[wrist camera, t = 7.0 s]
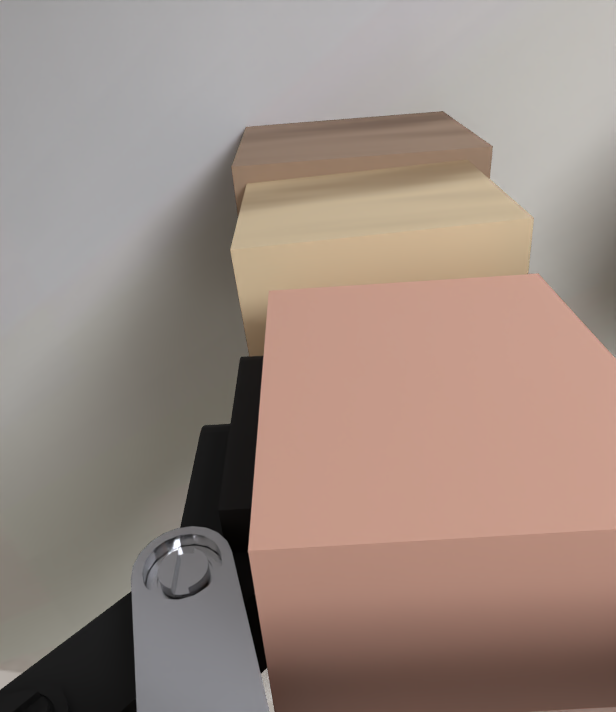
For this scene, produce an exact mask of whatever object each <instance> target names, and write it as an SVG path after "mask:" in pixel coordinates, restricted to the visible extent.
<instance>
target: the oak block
mask: <svg viewBox="0 0 616 712" xmlns="http://www.w3.org/2000/svg"><path fill="white" fill-rule="evenodd" d="M533 221H534V218H533V217H532V216H531V215H530V214H529V213H528V212H526V211H525V210H524V209H523V208H522V207H521V206H520V205H519V204H517V203H516V202H515V201H514V200H513V199H512V198H511V197H509V196H508V195H507V194H506V193H505V192H504V191H503V190H501V189H500V188H499V187H498V186H497V185H496V184H495V183H494V182H492V181H491V180H490V179H489V178H488V177H487V176H486V175H484V174H483V173H482V172H481V171H480V170H479V169H478V168H476V167H475V166H474V165H473V164H472V163H471V162H470V161H469V160H460V161H450V162H441V163H432V164H423V165H414V166H404V167H395V168H386V169H377V170H368V171H358V172H349V173H340V174H331V175H322V176H312V177H303V178H294V179H285V180H276V181H267V182H257V183H248V184H246V188H245V192H244V196H243V200H242V204H241V208H240V212H239V216H238V220H237V224H236V229H235V233H234V237H233V241H232V245H231V249H230V252H231V257H232V263H233V268H234V274H235V280H236V285H237V291H238V296H239V302H240V307H241V313H242V318H243V324H244V330H245V335H246V341H247V346H248V352H249V356H264V344H265V332H266V319H267V307H268V294H269V291H272V290H288V289H304V288H319V287H335V286H351V285H367V284H382V283H398V282H414V281H429V280H445V279H461V278H477V277H492V276H508V275H524V274H528V269H529V259H530V250H531V240H532V230H533Z"/></svg>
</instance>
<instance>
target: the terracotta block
mask: <svg viewBox="0 0 616 712" xmlns="http://www.w3.org/2000/svg"><path fill="white" fill-rule="evenodd" d="M248 554H249V560H250V566H251V572H252V578H253V584H254V590H255V596H256V602H257V608H258V614H259V620H260V626H261V632H262V638H263V644H264V650H265V656H266V663H267V669H268V675H269V681H270V687H271V693H272V699H273V705H274V711H275V712H534V711H552V710H569V709H587V708H605V707H616V359H615V357H614V356H613V355H612V354H611V353H610V352H609V351H608V350H607V349H606V348H605V346H604V345H603V344H602V343H601V342H600V341H599V340H598V339H597V338H596V337H595V335H594V334H593V333H592V332H591V331H590V330H589V329H588V328H587V327H586V326H585V324H584V323H583V322H582V321H581V320H580V319H579V318H578V317H577V316H576V315H575V313H574V312H573V311H572V310H571V309H570V308H569V307H568V306H567V305H566V304H565V302H564V301H563V300H562V299H561V298H560V297H559V296H558V295H557V294H556V293H555V291H554V290H553V289H552V288H551V287H550V286H549V285H548V284H547V283H546V282H545V280H544V279H543V278H542V277H541V276H540V275H539V274H524V275H508V276H492V277H477V278H461V279H445V280H429V281H414V282H398V283H382V284H367V285H351V286H335V287H319V288H304V289H288V290H272V291H269V294H268V307H267V319H266V332H265V344H264V357H263V369H262V382H261V394H260V407H259V420H258V432H257V445H256V457H255V470H254V482H253V495H252V507H251V520H250V533H249V545H248Z"/></svg>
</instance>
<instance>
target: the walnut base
mask: <svg viewBox="0 0 616 712" xmlns="http://www.w3.org/2000/svg"><path fill="white" fill-rule="evenodd" d="M492 148H493V146H491V145H490V144H488V143H487V142H486V141H484V140H483V139H481V138H480V137H479V136H477V135H476V134H474V133H473V132H471V131H470V130H469V129H467V128H466V127H464V126H463V125H462V124H460V123H459V122H457V121H456V120H454V119H453V118H452V117H450V116H449V115H447V114H446V113H445V112H443V111H441V112H429V113H416V114H403V115H391V116H378V117H365V118H353V119H340V120H327V121H315V122H302V123H289V124H277V125H264V126H251V127H246V128H245V131H244V134H243V137H242V139H241V142H240V145H239V147H238V150H237V153H236V155H235V158H234V161H233V163H232V166H231V169H232V176H233V183H234V191H235V198H236V205H237V213H238V216H239V212H240V208H241V204H242V200H243V196H244V192H245V188H246V184H248V183H257V182H267V181H276V180H285V179H294V178H303V177H312V176H322V175H331V174H340V173H349V172H358V171H368V170H377V169H386V168H395V167H404V166H414V165H423V164H432V163H441V162H450V161H460V160H469V161H470V162H471V163H472V164H473V165H474V166H475V167H476V168H478V169H479V170H480V171H481V172H482V173H483V174H484V175H486V176H487V177H488V178H489V179H490V170H491V159H492Z"/></svg>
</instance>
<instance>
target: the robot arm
mask: <svg viewBox="0 0 616 712" xmlns="http://www.w3.org/2000/svg"><path fill="white" fill-rule="evenodd" d="M263 357H264V356H249V357H241V358H240V363H239V370H238V377H237V384H236V390H235V397H234V404H233V411H232V418H231V424H220V425H204V426H203V427H202V429H201V433H200V437H199V442H198V447H197V451H196V456H195V461H194V465H193V470H192V475H191V480H190V484H189V489H188V494H187V499H186V503H185V508H184V513H183V517H182V522H181V527H180V528H177V529H174V530H172V531H169V532H166V533H164V534H162V535H160V536H159V537H157V538H156V539H154V540H153V541H151V542H150V543H149V544H148V545H147V546H146V547H145V548H144V549H143V550H142V551H141V552H140V553H139V555H138V557H137V559H136V561H135V563H134V565H133V569H132V576H131V590H132V591H131V592H130V593H129V594H127V595H126V596H125V597H123V598H122V599H121V600H119V601H118V602H117V603H115V604H114V605H113V606H111V607H110V608H109V609H107V610H106V611H105V612H103V613H102V614H101V615H99V616H98V617H97V618H95V619H94V620H93V621H91V622H90V623H89V624H87V625H86V626H85V627H83V628H82V629H81V630H79V631H78V632H77V633H75V634H74V635H73V636H71V637H70V638H69V639H67V640H66V641H65V642H63V643H62V644H61V645H59V646H58V647H57V648H55V649H54V650H53V651H51V652H50V653H49V654H47V655H46V656H45V657H43V658H42V659H41V660H39V661H38V662H37V663H35V664H34V665H33V666H31V667H30V668H29V669H27V670H26V671H25V672H23V673H22V674H21V675H19V676H18V677H17V678H15V679H14V680H13V681H12V682H10V683H9V684H7V685H6V686H5V687H4V688H2V689H1V690H0V712H269V707H268V703H267V699H266V695H265V690H264V686H263V682H262V678H261V673H262V672H263V671H264V670H265V669H266V668H267V663H266V656H265V650H264V644H263V638H262V632H261V626H260V620H259V614H258V608H257V602H256V596H255V590H254V584H253V578H252V572H251V566H250V560H249V554H248V545H249V533H250V520H251V507H252V495H253V482H254V470H255V457H256V445H257V432H258V420H259V407H260V394H261V382H262V369H263ZM534 712H616V707H605V708H587V709H569V710H552V711H534Z"/></svg>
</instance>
